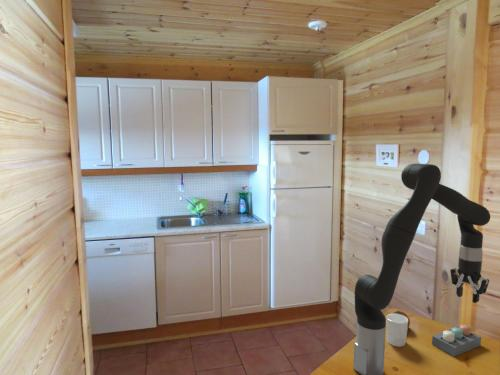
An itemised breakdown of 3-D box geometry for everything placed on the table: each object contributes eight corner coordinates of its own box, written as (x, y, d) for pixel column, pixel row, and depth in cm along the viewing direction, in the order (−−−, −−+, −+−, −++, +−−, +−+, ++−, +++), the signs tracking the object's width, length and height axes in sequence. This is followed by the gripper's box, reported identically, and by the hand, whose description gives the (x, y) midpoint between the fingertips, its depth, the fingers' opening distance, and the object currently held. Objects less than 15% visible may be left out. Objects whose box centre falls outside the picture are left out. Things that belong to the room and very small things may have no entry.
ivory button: (449, 346, 132) (450, 336, 131) (440, 341, 135) (440, 332, 135) (456, 344, 134) (456, 334, 133) (446, 339, 137) (447, 329, 136)
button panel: (454, 356, 129) (454, 347, 129) (431, 344, 137) (432, 335, 137) (480, 345, 136) (481, 336, 136) (458, 334, 144) (458, 326, 144)
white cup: (409, 348, 135) (410, 324, 133) (387, 346, 136) (388, 322, 135) (404, 337, 142) (405, 314, 141) (383, 335, 144) (384, 312, 143)
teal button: (458, 343, 134) (458, 333, 134) (448, 338, 137) (449, 328, 137) (464, 340, 136) (465, 331, 135) (454, 336, 139) (455, 326, 139)
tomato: (386, 328, 149) (387, 312, 148) (393, 321, 155) (393, 305, 154) (406, 334, 144) (407, 318, 143) (412, 327, 150) (413, 311, 149)
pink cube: (466, 340, 136) (467, 330, 136) (456, 335, 140) (457, 325, 139) (472, 337, 138) (473, 327, 137) (462, 332, 141) (463, 323, 141)
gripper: (446, 253, 139) (443, 294, 142) (483, 264, 127) (480, 309, 129) (458, 250, 143) (455, 290, 145) (496, 261, 130) (492, 304, 132)
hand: (467, 299), depth 137 cm, fingers open, 5 cm apart
